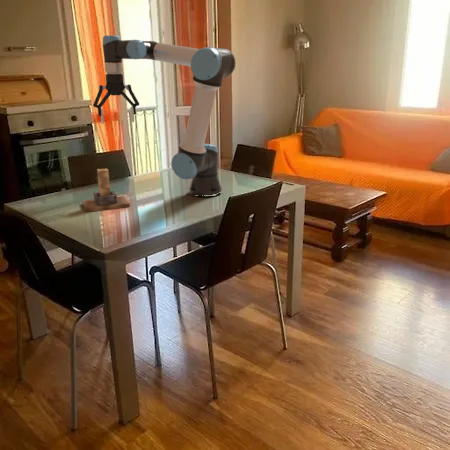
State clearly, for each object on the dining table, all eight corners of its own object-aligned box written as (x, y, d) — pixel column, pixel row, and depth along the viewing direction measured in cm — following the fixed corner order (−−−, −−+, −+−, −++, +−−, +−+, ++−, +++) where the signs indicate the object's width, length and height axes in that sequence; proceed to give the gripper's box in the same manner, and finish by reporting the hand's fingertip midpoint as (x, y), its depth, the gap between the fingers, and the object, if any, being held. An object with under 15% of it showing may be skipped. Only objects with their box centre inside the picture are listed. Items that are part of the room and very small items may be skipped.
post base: (124, 199, 204) (123, 188, 202) (129, 206, 193) (128, 195, 192) (82, 203, 197) (81, 192, 195) (85, 212, 187) (84, 200, 185)
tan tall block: (109, 200, 197) (106, 168, 192) (111, 202, 194) (108, 170, 189) (100, 201, 196) (97, 169, 191) (101, 203, 192) (98, 171, 187)
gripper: (140, 72, 208) (143, 120, 216) (83, 73, 199) (88, 122, 207) (144, 73, 202) (146, 122, 209) (85, 74, 193) (90, 124, 200)
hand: (117, 122), depth 208 cm, fingers open, 13 cm apart
